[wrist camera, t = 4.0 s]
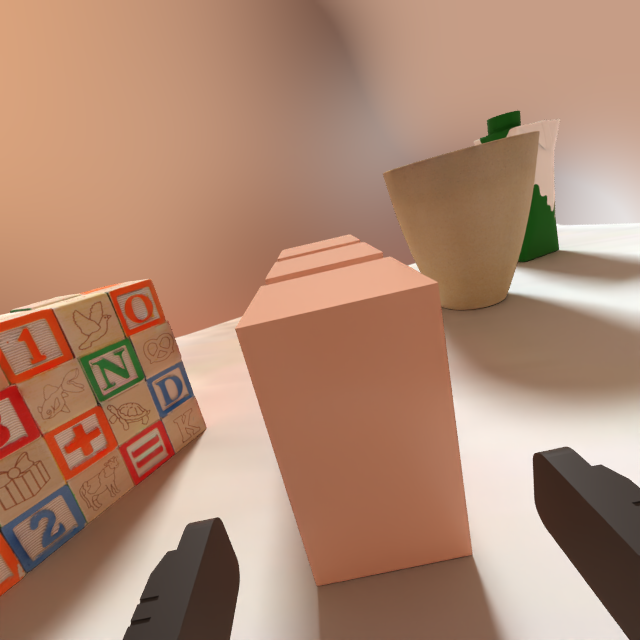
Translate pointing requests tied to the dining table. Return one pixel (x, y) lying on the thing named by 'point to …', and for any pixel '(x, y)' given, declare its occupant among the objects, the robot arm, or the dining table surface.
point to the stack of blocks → (83, 413)
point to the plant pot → (468, 216)
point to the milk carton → (542, 208)
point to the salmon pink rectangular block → (361, 416)
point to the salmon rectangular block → (322, 262)
